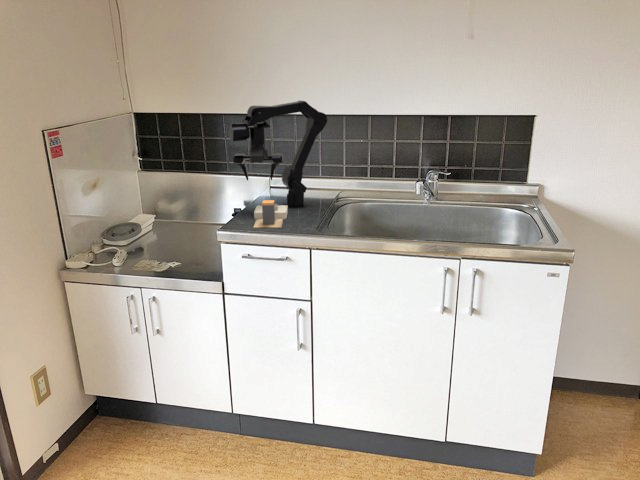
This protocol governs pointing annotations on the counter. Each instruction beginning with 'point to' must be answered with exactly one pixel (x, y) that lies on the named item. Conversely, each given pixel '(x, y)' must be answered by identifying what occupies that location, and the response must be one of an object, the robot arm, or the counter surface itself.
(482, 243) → the counter surface
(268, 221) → the plug
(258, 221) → the cork pad
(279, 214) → the block
